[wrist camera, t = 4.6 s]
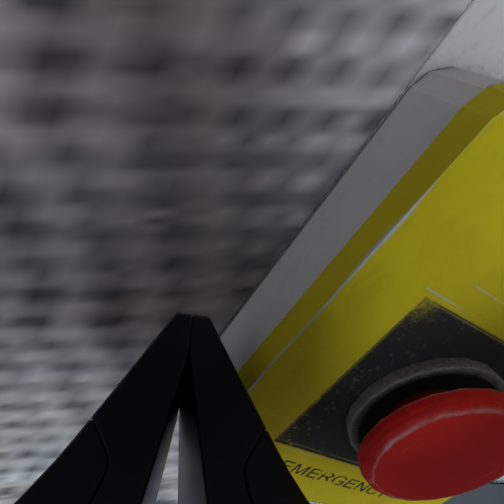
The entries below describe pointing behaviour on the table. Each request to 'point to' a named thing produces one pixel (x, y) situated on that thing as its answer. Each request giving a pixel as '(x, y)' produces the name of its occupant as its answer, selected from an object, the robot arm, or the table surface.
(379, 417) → the emergency button
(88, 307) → the table surface
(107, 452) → the robot arm
